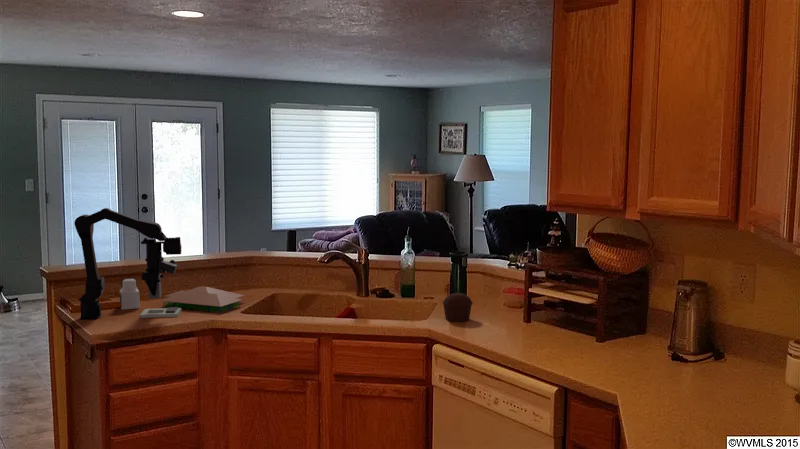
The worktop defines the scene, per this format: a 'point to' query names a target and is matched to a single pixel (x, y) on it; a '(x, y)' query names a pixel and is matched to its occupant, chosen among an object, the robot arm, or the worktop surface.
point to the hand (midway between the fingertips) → (155, 294)
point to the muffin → (457, 307)
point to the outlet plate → (161, 312)
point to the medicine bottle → (129, 294)
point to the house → (203, 298)
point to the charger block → (158, 291)
